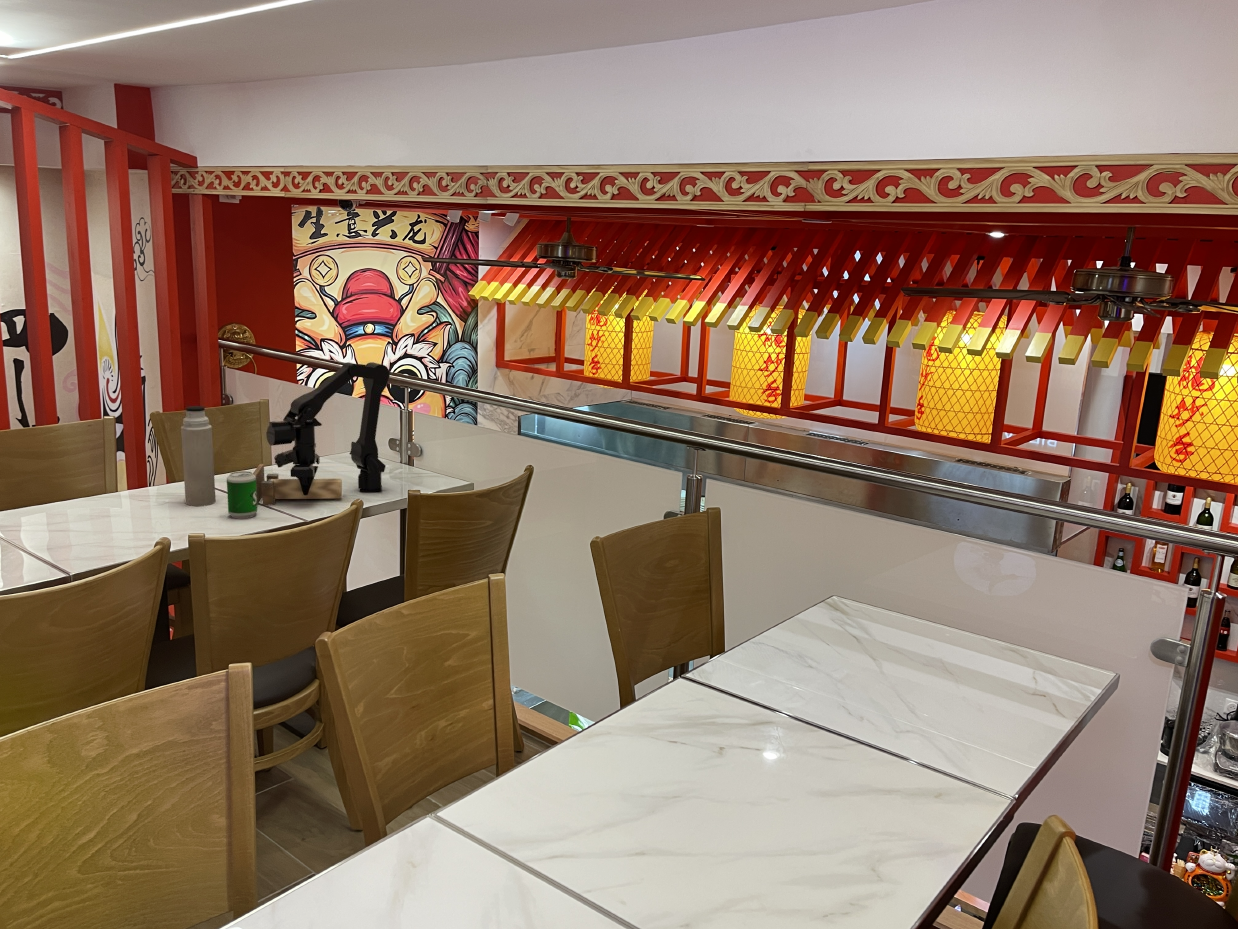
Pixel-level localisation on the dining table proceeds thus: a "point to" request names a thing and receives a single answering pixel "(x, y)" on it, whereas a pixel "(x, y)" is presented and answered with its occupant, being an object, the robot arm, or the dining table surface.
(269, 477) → the headboard
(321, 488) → the rail
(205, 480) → the thermos bottle
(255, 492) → the soda can
